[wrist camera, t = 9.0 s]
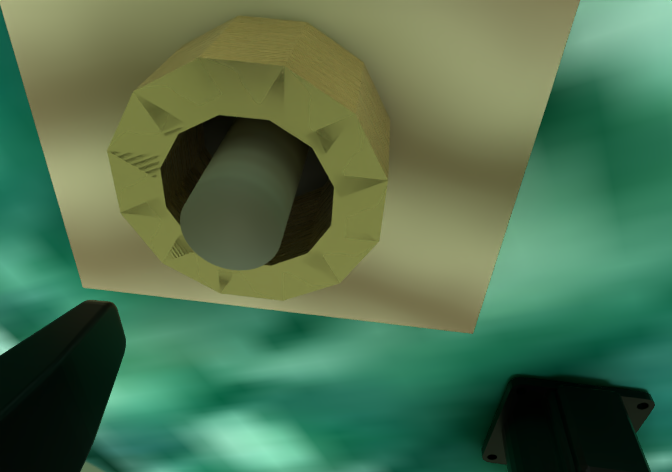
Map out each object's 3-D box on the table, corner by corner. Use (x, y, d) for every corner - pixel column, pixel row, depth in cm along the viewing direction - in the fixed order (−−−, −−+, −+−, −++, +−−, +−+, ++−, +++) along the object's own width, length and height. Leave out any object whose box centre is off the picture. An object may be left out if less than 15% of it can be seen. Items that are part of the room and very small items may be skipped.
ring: (374, 239, 18) (369, 310, 16) (175, 217, 19) (135, 283, 16) (402, 31, 14) (403, 77, 11) (145, 6, 14) (84, 46, 12)
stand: (469, 307, 23) (491, 461, 17) (99, 264, 23) (3, 399, 18) (611, -166, 13) (772, -170, 7) (-26, -218, 14) (-326, -260, 8)
